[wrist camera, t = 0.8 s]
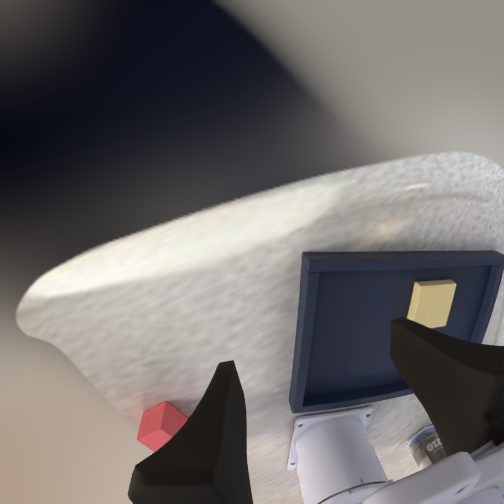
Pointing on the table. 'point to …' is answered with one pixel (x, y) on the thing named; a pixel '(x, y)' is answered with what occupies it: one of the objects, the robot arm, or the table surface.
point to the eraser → (160, 425)
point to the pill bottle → (426, 447)
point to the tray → (376, 318)
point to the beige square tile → (431, 302)
